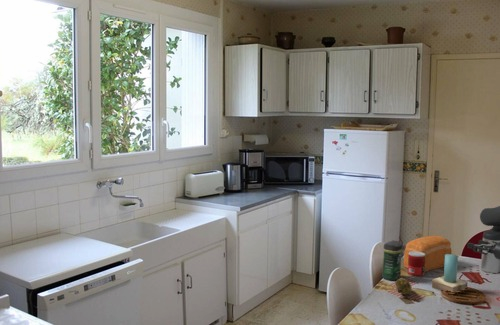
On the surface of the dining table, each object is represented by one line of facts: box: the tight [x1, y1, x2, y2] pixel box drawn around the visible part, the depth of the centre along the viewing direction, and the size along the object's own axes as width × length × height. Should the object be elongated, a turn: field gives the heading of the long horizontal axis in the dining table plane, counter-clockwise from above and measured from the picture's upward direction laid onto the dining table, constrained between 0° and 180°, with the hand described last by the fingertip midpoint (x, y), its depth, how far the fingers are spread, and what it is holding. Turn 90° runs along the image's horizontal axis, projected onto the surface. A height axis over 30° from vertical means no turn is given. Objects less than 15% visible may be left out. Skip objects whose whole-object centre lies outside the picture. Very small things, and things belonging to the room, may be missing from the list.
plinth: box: [431, 275, 468, 292], centre depth 230 cm, size 11×11×4 cm
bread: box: [403, 235, 452, 273], centre depth 263 cm, size 14×26×16 cm, turn 124°
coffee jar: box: [381, 239, 403, 281], centre depth 243 cm, size 10×8×19 cm
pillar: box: [443, 253, 459, 283], centre depth 229 cm, size 6×6×12 cm
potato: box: [394, 277, 413, 296], centre depth 222 cm, size 8×13×8 cm, turn 140°
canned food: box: [407, 251, 425, 277], centre depth 250 cm, size 8×8×11 cm
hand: (473, 243), depth 218 cm, fingers open, 8 cm apart
